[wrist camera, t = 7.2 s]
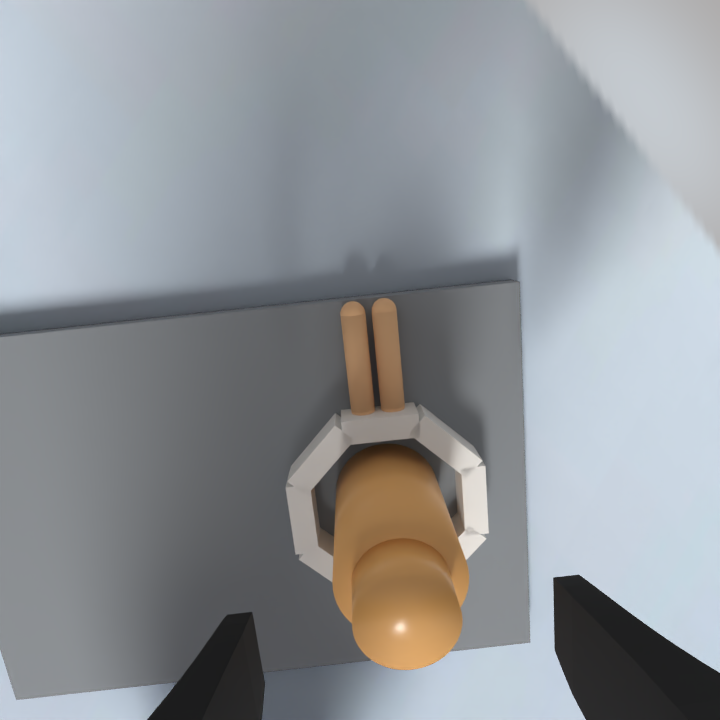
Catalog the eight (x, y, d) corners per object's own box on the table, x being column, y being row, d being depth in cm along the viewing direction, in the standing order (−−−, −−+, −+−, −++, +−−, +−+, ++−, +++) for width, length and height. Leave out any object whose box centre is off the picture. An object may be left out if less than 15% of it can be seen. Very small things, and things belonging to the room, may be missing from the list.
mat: (523, 627, 21) (541, 667, 19) (28, 682, 21) (-4, 728, 19) (511, 279, 18) (532, 285, 16) (-77, 342, 18) (-129, 356, 16)
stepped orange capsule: (440, 530, 19) (487, 678, 13) (341, 540, 19) (339, 694, 13) (433, 438, 18) (480, 548, 12) (330, 449, 18) (322, 564, 12)
